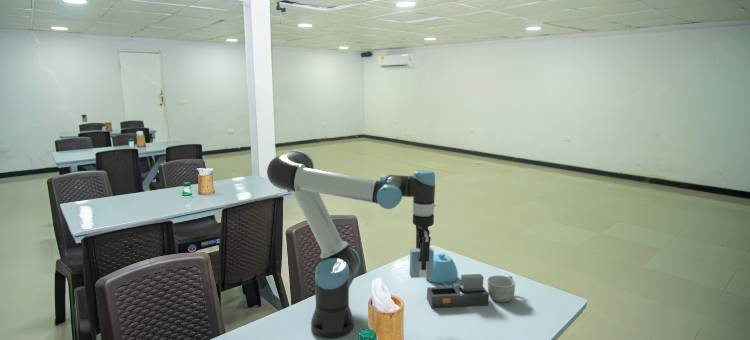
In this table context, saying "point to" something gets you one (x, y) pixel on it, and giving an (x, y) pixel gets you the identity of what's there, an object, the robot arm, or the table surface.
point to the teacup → (501, 288)
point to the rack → (459, 293)
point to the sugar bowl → (443, 269)
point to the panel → (415, 263)
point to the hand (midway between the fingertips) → (421, 274)
